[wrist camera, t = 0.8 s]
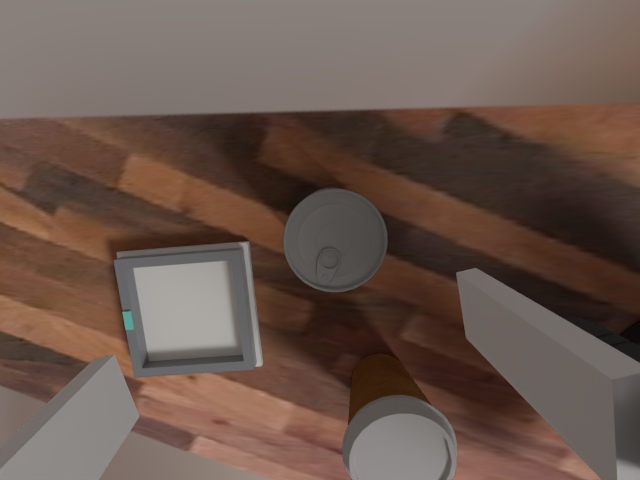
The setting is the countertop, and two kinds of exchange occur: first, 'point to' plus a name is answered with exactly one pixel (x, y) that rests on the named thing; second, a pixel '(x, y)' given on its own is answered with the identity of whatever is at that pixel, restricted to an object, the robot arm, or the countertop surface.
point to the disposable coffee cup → (395, 427)
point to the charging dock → (189, 309)
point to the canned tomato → (335, 240)
